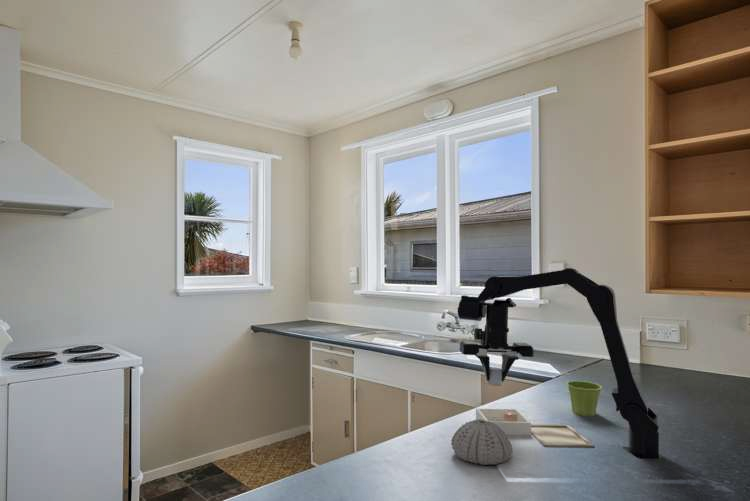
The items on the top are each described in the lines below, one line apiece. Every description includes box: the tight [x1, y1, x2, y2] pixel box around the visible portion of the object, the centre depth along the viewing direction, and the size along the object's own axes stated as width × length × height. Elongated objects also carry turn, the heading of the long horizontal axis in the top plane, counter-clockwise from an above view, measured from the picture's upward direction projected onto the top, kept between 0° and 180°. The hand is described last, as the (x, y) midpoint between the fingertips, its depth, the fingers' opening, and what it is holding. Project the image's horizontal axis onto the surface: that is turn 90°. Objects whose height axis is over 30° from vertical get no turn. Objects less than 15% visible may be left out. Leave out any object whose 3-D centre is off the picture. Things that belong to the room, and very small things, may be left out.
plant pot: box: [566, 380, 603, 417], centre depth 137 cm, size 9×9×9 cm
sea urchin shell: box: [450, 419, 513, 466], centre depth 105 cm, size 13×14×8 cm
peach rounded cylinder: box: [503, 411, 518, 422], centre depth 121 cm, size 4×4×4 cm
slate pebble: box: [487, 367, 503, 387], centre depth 126 cm, size 4×4×4 cm
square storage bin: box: [475, 407, 532, 436], centre depth 123 cm, size 11×11×4 cm
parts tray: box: [531, 423, 595, 448], centre depth 117 cm, size 14×12×1 cm
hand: (495, 381), depth 126 cm, fingers closed on slate pebble, 4 cm apart
